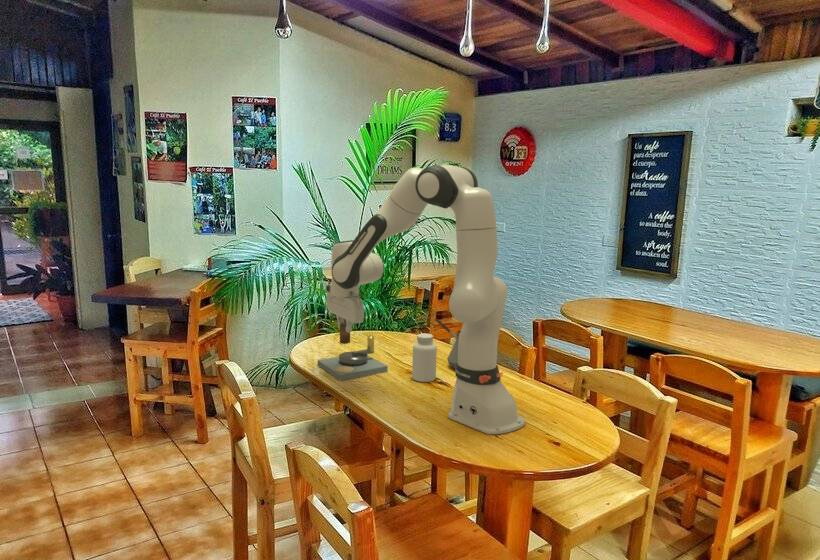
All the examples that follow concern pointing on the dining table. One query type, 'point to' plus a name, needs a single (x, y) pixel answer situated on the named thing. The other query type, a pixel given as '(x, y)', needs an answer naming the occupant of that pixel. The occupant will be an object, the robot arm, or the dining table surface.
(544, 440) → the dining table surface
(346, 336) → the brown bottle
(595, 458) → the dining table surface
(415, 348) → the pill bottle
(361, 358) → the dial
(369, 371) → the board
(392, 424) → the dining table surface
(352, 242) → the robot arm
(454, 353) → the coffee pot
